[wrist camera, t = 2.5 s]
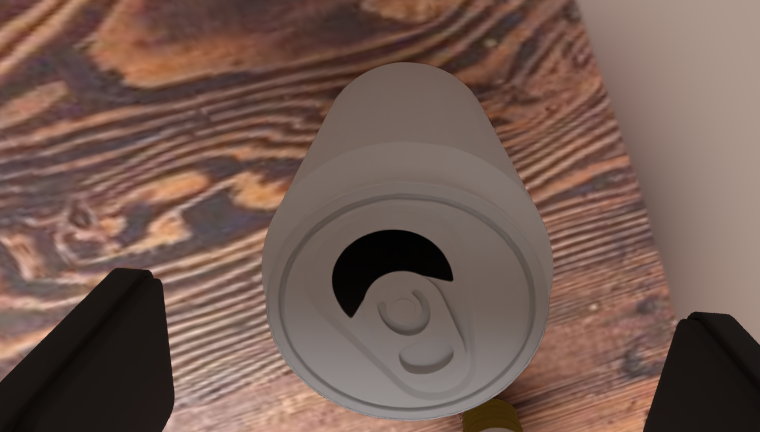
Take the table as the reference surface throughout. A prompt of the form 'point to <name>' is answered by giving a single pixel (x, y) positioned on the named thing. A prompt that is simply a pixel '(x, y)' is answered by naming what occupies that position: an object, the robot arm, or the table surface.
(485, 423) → the light bulb
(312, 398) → the table surface
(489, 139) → the beverage can
